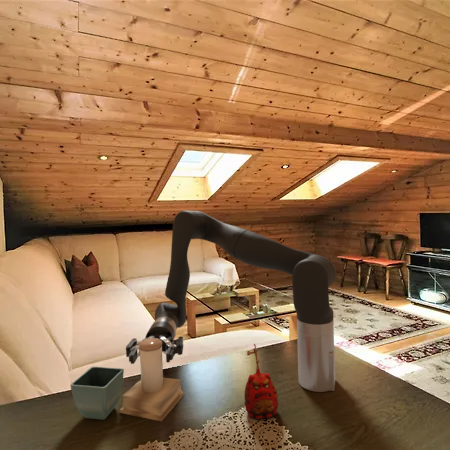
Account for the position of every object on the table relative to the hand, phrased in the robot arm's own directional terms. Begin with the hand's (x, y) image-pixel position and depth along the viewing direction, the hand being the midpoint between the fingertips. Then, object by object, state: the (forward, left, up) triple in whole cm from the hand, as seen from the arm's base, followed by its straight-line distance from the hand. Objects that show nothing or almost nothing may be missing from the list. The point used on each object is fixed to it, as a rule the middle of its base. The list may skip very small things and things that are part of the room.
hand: (149, 359), depth 81 cm
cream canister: (0, -1, -7) cm, 8 cm away
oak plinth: (0, -1, -11) cm, 12 cm away
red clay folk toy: (-26, -5, -12) cm, 29 cm away
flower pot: (+10, +6, -12) cm, 17 cm away
